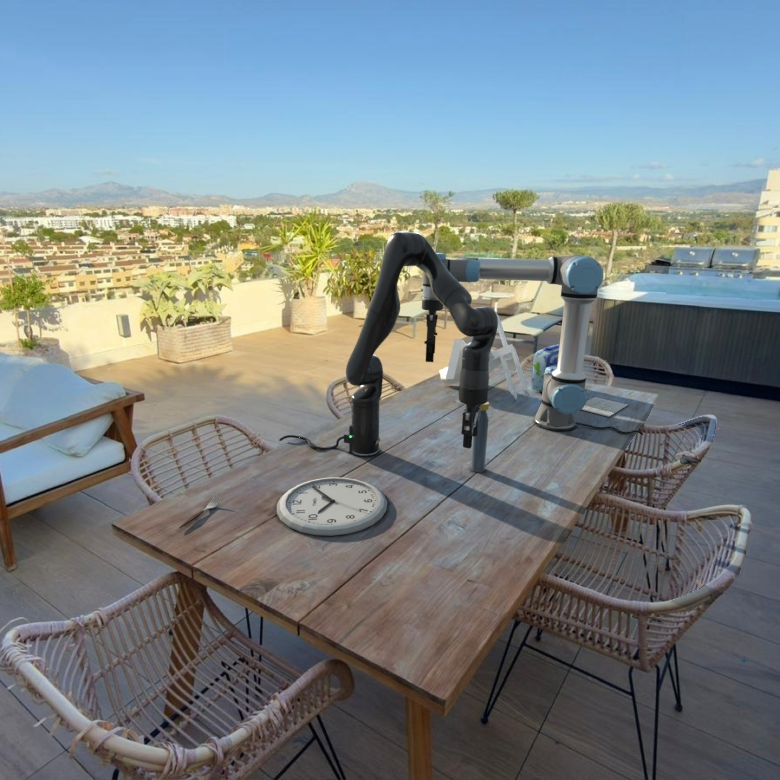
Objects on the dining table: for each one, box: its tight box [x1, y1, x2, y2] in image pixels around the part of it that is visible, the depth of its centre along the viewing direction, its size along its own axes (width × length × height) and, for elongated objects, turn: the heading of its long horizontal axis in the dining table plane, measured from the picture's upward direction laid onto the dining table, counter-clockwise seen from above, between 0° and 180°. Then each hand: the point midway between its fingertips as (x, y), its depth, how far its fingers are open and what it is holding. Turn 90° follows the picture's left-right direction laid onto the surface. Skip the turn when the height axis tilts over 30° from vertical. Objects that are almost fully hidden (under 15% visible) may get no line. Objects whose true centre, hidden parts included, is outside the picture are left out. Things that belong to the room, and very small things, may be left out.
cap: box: [481, 401, 490, 411], centre depth 159 cm, size 4×4×2 cm
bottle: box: [470, 410, 489, 474], centre depth 162 cm, size 4×4×22 cm
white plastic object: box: [438, 310, 531, 400], centre depth 245 cm, size 37×45×31 cm
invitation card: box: [580, 396, 629, 418], centre depth 226 cm, size 21×1×15 cm
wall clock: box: [276, 476, 388, 537], centre depth 142 cm, size 30×2×30 cm
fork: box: [178, 493, 223, 529], centre depth 137 cm, size 3×16×2 cm, turn 160°
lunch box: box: [530, 344, 560, 393], centre depth 247 cm, size 26×11×21 cm, turn 134°
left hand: (470, 441), depth 141 cm, fingers open, 8 cm apart
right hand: (430, 357), depth 190 cm, fingers open, 13 cm apart
